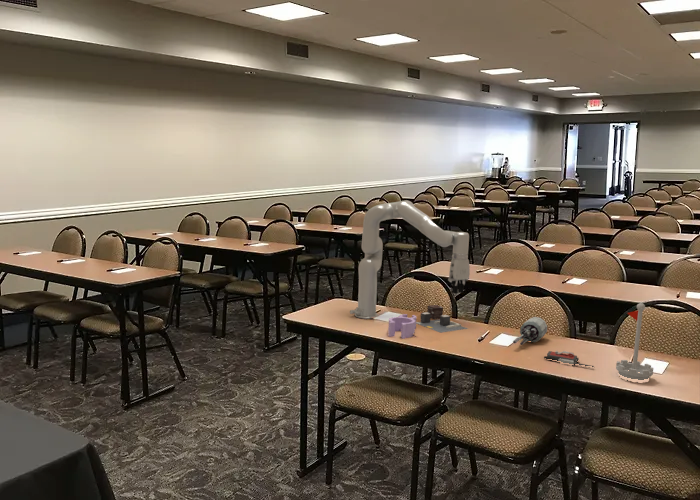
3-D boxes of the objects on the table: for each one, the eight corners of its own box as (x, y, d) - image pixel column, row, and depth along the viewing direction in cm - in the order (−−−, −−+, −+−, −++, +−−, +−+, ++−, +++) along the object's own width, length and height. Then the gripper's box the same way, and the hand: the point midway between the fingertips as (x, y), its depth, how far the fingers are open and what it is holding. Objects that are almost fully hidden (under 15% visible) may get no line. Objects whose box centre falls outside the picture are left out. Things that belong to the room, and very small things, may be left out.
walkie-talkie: (542, 362, 248) (593, 371, 239) (543, 351, 248) (594, 360, 238) (546, 356, 256) (595, 365, 247) (547, 346, 255) (597, 355, 246)
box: (426, 318, 312) (427, 305, 311) (436, 318, 315) (436, 304, 314) (432, 321, 307) (433, 307, 306) (442, 320, 310) (443, 307, 309)
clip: (397, 326, 295) (398, 313, 294) (421, 330, 290) (422, 316, 289) (383, 336, 277) (384, 321, 276) (408, 340, 272) (409, 325, 271)
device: (526, 334, 289) (527, 314, 287) (547, 338, 284) (548, 318, 282) (508, 350, 263) (509, 328, 261) (530, 354, 257) (532, 332, 256)
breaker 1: (424, 323, 298) (424, 314, 297) (420, 321, 300) (420, 312, 300) (430, 322, 300) (430, 313, 300) (426, 320, 303) (426, 312, 302)
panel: (440, 335, 282) (440, 331, 282) (414, 325, 298) (414, 321, 298) (468, 330, 292) (468, 326, 291) (441, 321, 308) (441, 317, 308)
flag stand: (658, 380, 230) (667, 305, 226) (640, 386, 222) (649, 308, 218) (626, 370, 240) (634, 298, 236) (608, 376, 233) (616, 301, 229)
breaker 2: (443, 325, 294) (444, 316, 293) (439, 324, 296) (440, 315, 296) (449, 325, 296) (450, 316, 295) (445, 323, 299) (446, 314, 298)
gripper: (452, 258, 288) (450, 295, 291) (477, 257, 297) (474, 293, 300) (442, 256, 294) (440, 292, 297) (466, 255, 303) (464, 290, 306)
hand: (457, 292), depth 298 cm, fingers open, 3 cm apart
